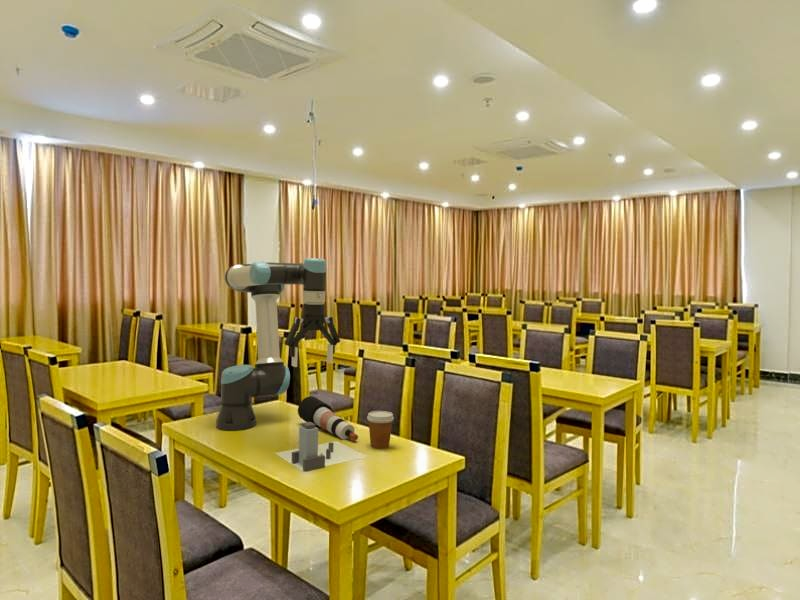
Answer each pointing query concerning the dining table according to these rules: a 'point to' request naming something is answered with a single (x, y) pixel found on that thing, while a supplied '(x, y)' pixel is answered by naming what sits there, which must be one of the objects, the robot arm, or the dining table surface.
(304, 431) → the block
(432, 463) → the dining table surface
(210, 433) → the dining table surface
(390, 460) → the dining table surface
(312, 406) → the cable
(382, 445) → the disposable coffee cup
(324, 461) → the routing panel
